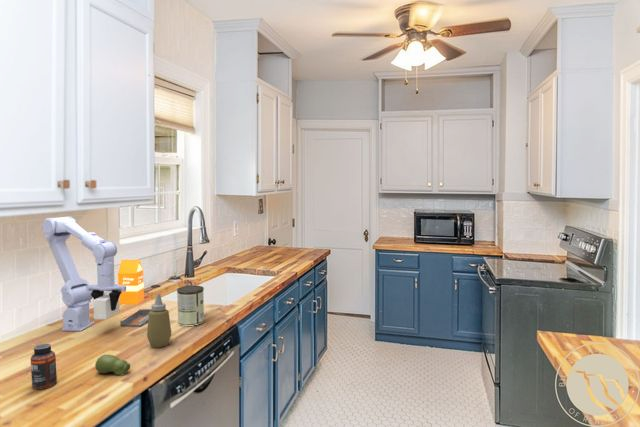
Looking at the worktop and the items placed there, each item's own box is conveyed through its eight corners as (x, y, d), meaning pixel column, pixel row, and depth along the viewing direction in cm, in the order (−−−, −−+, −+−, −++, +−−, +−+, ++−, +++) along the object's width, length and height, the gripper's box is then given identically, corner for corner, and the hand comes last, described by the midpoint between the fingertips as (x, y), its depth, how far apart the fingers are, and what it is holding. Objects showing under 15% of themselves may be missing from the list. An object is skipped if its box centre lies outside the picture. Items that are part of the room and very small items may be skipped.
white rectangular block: (106, 319, 160) (105, 300, 160) (94, 318, 161) (93, 300, 160) (119, 311, 170) (119, 293, 170) (108, 310, 171) (107, 293, 170)
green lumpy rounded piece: (103, 350, 134) (134, 356, 133) (101, 366, 134) (132, 373, 134) (92, 357, 128) (124, 364, 128) (90, 374, 129) (122, 381, 128)
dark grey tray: (140, 326, 171) (140, 321, 171) (120, 326, 172) (120, 320, 172) (157, 314, 187) (157, 309, 187) (139, 313, 188) (138, 308, 188)
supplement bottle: (58, 378, 127) (56, 340, 126) (55, 387, 121) (53, 348, 120) (34, 382, 124) (32, 343, 124) (29, 391, 119) (27, 351, 118)
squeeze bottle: (142, 348, 149) (141, 297, 148) (154, 340, 157) (153, 291, 156) (164, 350, 148) (163, 298, 147) (175, 341, 156) (174, 291, 155)
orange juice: (137, 304, 202) (136, 261, 201) (118, 304, 202) (117, 261, 201) (144, 299, 210) (143, 258, 209) (125, 299, 210) (124, 258, 208)
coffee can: (178, 319, 180) (177, 286, 179) (204, 317, 183) (203, 284, 182) (176, 327, 170) (176, 292, 169) (204, 325, 173) (203, 290, 172)
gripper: (129, 272, 168) (130, 307, 169) (93, 271, 169) (94, 306, 170) (120, 276, 161) (121, 312, 162) (82, 275, 161) (83, 311, 163)
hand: (107, 309), depth 165 cm, fingers closed on white rectangular block, 4 cm apart
